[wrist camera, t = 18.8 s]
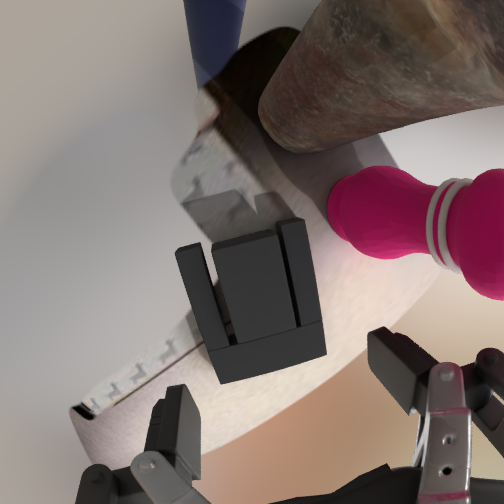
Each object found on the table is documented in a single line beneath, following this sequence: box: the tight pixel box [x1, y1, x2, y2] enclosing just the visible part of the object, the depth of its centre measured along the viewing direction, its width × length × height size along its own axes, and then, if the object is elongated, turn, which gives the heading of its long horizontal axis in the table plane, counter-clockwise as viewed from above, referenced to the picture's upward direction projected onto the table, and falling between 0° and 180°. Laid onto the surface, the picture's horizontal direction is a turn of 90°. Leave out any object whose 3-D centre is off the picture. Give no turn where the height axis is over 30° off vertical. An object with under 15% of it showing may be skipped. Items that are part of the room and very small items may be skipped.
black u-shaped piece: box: [175, 217, 327, 384], centre depth 23 cm, size 13×10×2 cm
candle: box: [258, 0, 504, 154], centre depth 12 cm, size 8×7×20 cm
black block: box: [211, 229, 296, 344], centre depth 23 cm, size 8×5×3 cm, turn 13°
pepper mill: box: [327, 166, 504, 301], centre depth 14 cm, size 7×7×20 cm
